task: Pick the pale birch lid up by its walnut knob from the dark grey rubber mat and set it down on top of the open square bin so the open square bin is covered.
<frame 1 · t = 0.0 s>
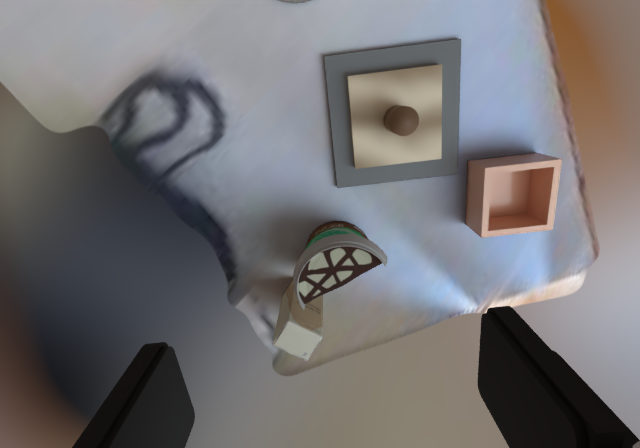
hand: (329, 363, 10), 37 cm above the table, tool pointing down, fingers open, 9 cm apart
lid: (394, 118, 42), point 1 cm above the table, touching mat
box: (301, 293, 52), on the table
open square bin: (499, 189, 46), on the table
mat: (393, 118, 43), on the table
food container: (327, 235, 49), on the table
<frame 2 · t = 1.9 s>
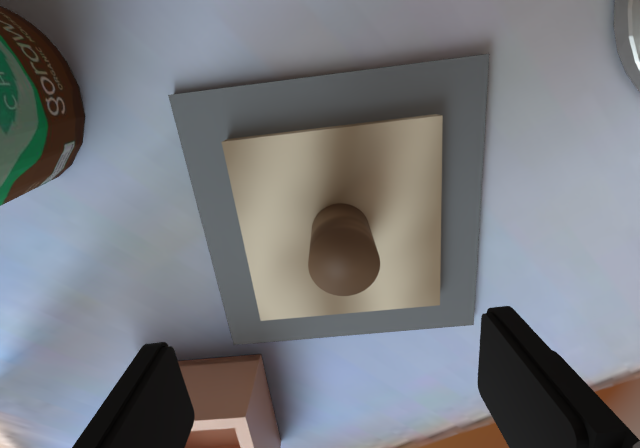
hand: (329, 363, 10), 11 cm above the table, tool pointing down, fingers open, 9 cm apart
lid: (339, 224, 20), point 1 cm above the table, touching mat
open square bin: (213, 405, 26), on the table
mat: (339, 220, 20), on the table
food container: (35, 70, 18), on the table
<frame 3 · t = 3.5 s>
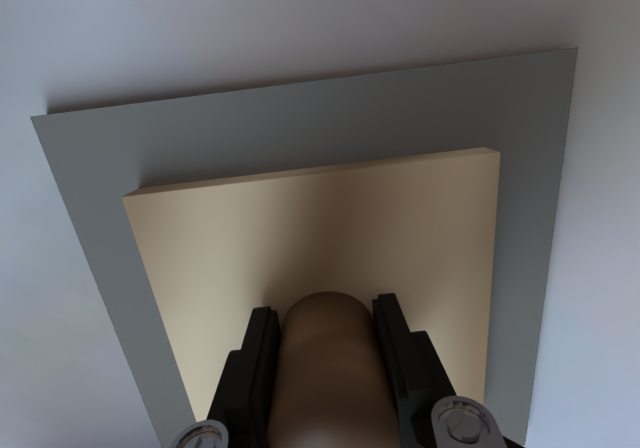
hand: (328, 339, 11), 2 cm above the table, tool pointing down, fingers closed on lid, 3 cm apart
lid: (327, 314, 13), point 1 cm above the table, touching gripper, mat
mat: (326, 304, 13), on the table
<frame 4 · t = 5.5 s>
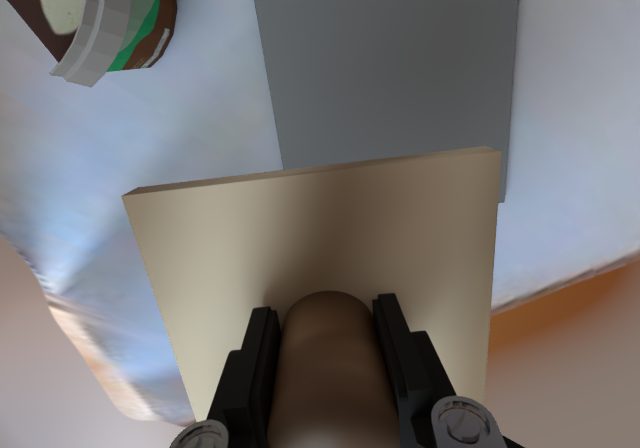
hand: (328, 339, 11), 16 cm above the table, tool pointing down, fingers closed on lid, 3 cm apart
lid: (327, 313, 13), point 15 cm above the table, touching gripper
mat: (389, 104, 24), on the table
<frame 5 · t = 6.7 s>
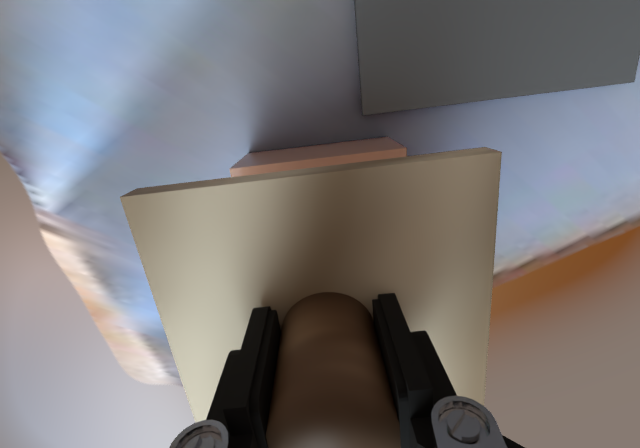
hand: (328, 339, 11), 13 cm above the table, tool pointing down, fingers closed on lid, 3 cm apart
lid: (327, 314, 13), point 12 cm above the table, touching gripper
open square bin: (325, 210, 23), on the table
when the fingers open (8 cm above the table, at t = 7.8 s): lid drops 1 cm, resting on open square bin.
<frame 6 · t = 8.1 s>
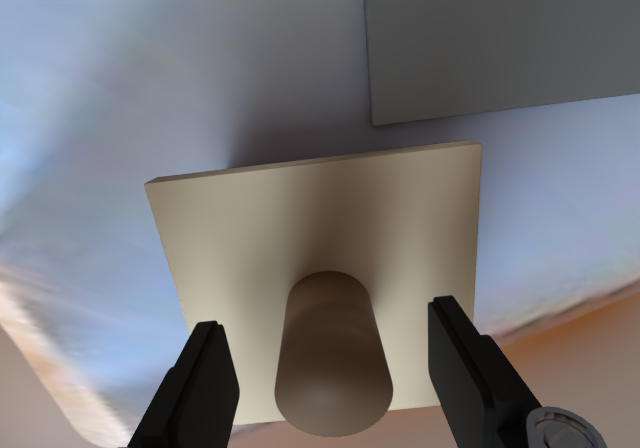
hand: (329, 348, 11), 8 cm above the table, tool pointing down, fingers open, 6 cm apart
lid: (327, 293, 14), point 5 cm above the table, touching open square bin
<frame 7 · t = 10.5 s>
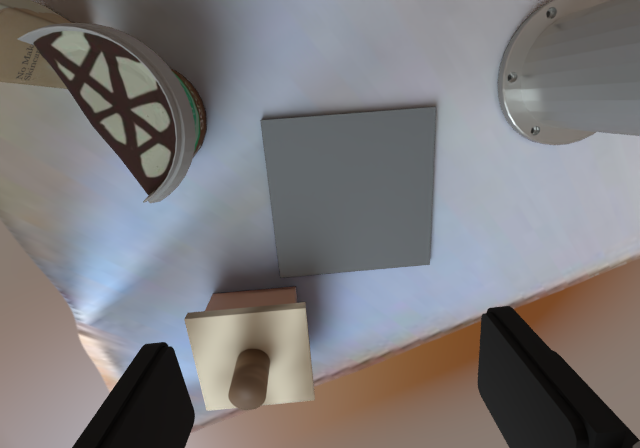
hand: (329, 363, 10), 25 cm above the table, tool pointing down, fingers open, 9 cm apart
lid: (254, 354, 34), point 5 cm above the table, touching open square bin
box: (60, 48, 29), on the table
open square bin: (259, 324, 39), on the table
mat: (351, 197, 34), on the table
food container: (180, 102, 31), on the table
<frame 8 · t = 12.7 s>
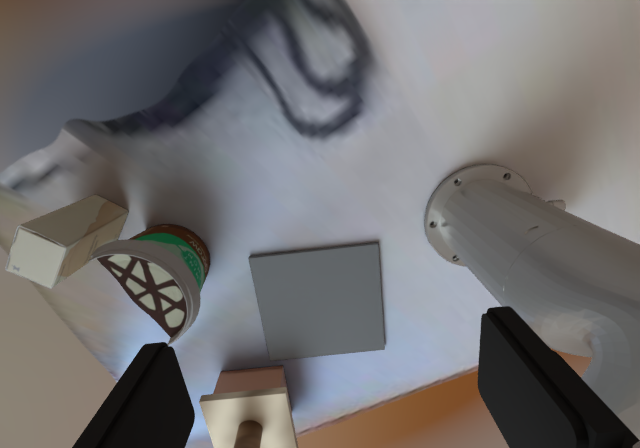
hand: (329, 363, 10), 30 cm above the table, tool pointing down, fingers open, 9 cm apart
lid: (251, 422, 46), point 5 cm above the table, touching open square bin
box: (106, 217, 41), on the table
open square bin: (257, 392, 50), on the table
mat: (320, 304, 45), on the table
food container: (190, 247, 42), on the table
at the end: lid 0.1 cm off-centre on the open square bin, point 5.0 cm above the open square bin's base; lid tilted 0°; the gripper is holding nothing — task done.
